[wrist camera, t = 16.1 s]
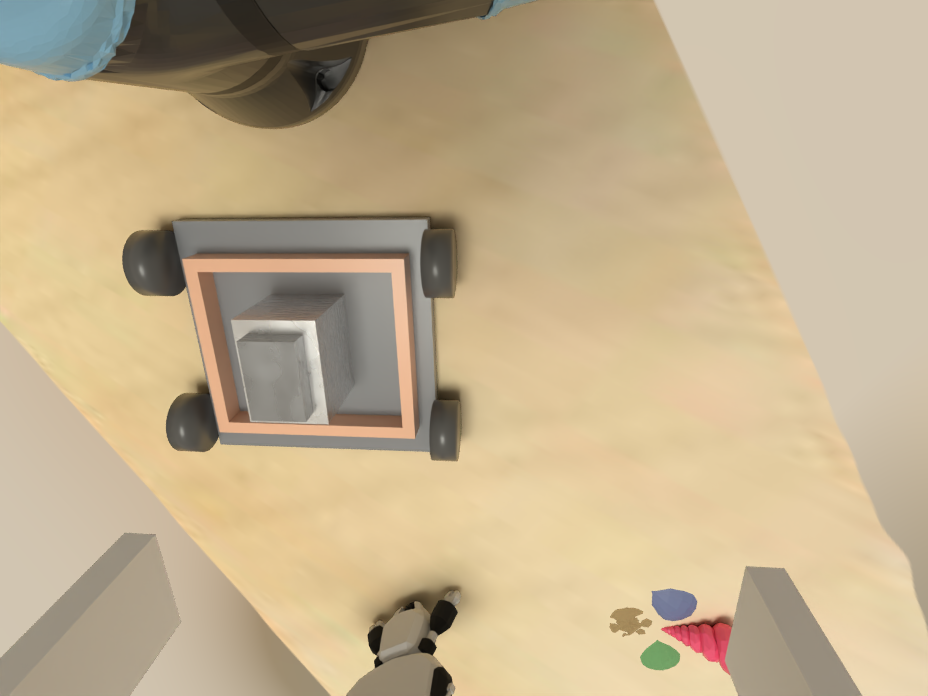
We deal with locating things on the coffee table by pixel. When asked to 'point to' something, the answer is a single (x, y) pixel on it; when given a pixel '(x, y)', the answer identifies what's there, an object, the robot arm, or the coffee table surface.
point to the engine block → (294, 357)
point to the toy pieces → (675, 630)
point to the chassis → (312, 272)
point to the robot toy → (409, 652)
